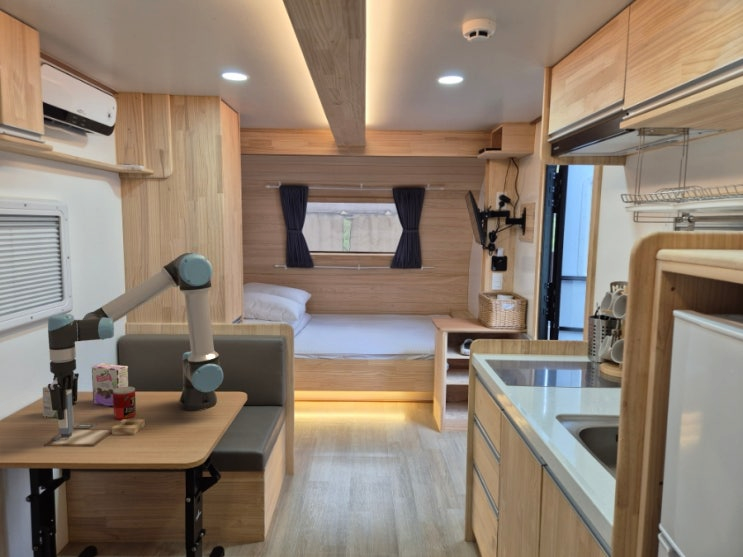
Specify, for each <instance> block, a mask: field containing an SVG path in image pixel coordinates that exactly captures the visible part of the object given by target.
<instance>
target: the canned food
mask: <svg viewBox="0 0 743 557" xmlns="http://www.w3.org/2000/svg"><path fill="white" fill-rule="evenodd" d="M136 406H137V405H136V388H135V387H134V386H128V387H120V388H116V389H114V390H113V417H114V419H115V420H118V421H122V420H123V419H134V417H135V416H136V413H137V411H136V410H137V408H136Z"/></svg>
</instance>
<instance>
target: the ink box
mask: <svg viewBox="0 0 743 557" xmlns="http://www.w3.org/2000/svg"><path fill="white" fill-rule="evenodd" d="M42 416H44V417H45V418H58V412H57V411H53V410H52V403H51V396H50V390H49V388H48V385H46V386H43V387H42ZM46 416H47V417H46ZM44 417H43V418H44Z"/></svg>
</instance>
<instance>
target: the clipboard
mask: <svg viewBox="0 0 743 557" xmlns="http://www.w3.org/2000/svg"><path fill="white" fill-rule="evenodd" d="M109 435H112V429H104V428H103V429H102V428H101V429H100V428H99V429H97V428H96V429H94V428H93V429H92V428H90V429H73V432H72V436H70V437H69V438H61V434H59V433H57V434H55V435H53V437H51V439H50V440H49V441H47V442H46V443H44V444H43V447H95V446H97V445H98V444H99V443H100V442H102V441H103V440H104V439H105V438H107V437H109Z"/></svg>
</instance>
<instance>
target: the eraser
mask: <svg viewBox="0 0 743 557" xmlns="http://www.w3.org/2000/svg"><path fill="white" fill-rule="evenodd" d="M65 409H67V418H68V428H59V427H58V434H61V438H69V437H70V436H72V432H73V428H74V424H73V420H74V410H73V411H72V390H70V389H67V390H66V399H65Z"/></svg>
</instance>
